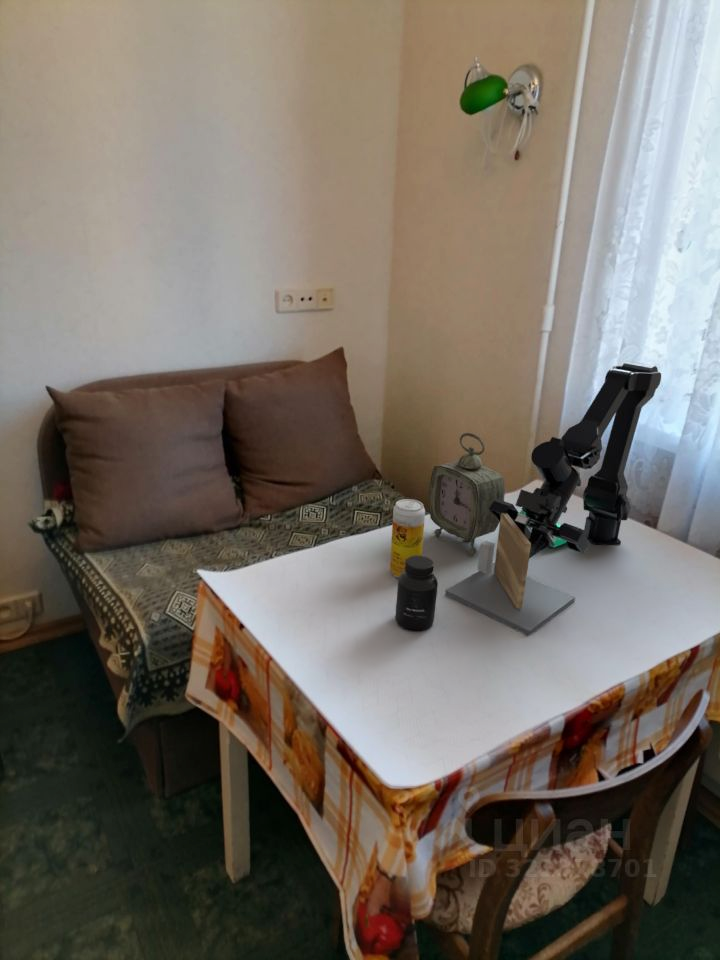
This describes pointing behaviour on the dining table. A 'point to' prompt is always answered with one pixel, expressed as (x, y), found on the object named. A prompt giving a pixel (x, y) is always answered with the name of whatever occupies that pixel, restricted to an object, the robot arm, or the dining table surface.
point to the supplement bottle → (416, 595)
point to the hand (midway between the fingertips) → (516, 564)
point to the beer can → (406, 533)
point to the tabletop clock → (465, 496)
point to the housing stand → (494, 601)
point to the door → (512, 559)
